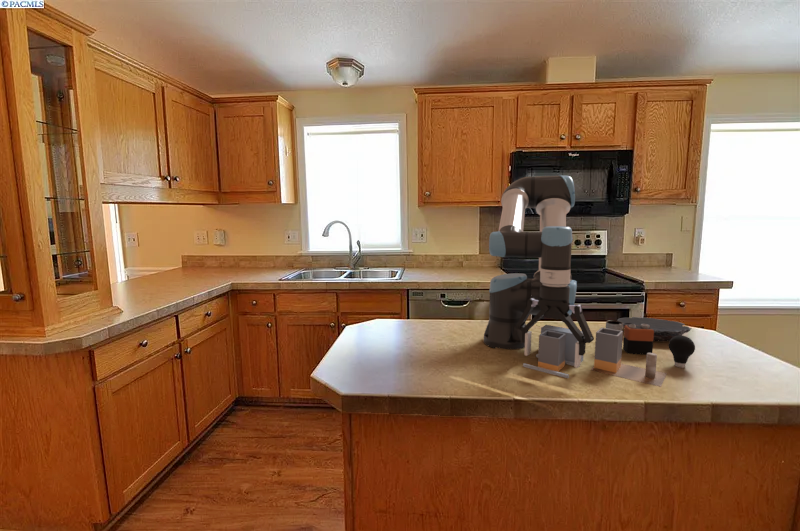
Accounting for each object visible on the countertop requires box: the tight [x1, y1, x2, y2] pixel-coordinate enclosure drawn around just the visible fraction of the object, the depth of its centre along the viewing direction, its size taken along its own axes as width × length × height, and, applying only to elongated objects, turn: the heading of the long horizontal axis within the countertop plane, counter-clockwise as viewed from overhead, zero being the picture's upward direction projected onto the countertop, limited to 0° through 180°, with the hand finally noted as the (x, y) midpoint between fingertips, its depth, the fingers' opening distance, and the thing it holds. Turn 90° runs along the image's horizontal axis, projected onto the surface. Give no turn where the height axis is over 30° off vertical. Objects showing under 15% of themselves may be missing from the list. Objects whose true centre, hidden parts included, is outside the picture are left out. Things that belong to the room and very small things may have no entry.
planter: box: [605, 319, 624, 332], centre depth 119 cm, size 4×4×10 cm
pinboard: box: [590, 352, 668, 388], centre depth 104 cm, size 16×10×8 cm, turn 49°
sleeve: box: [537, 330, 566, 372], centre depth 108 cm, size 5×5×10 cm
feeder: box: [522, 324, 585, 379], centre depth 110 cm, size 12×15×10 cm
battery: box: [622, 324, 654, 356], centre depth 118 cm, size 4×7×10 cm, turn 78°
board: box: [616, 316, 692, 343], centre depth 137 cm, size 22×22×5 cm
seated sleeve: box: [593, 327, 624, 373], centre depth 106 cm, size 5×5×10 cm
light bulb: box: [668, 335, 696, 369], centre depth 107 cm, size 6×6×10 cm
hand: (551, 359), depth 108 cm, fingers open, 13 cm apart
